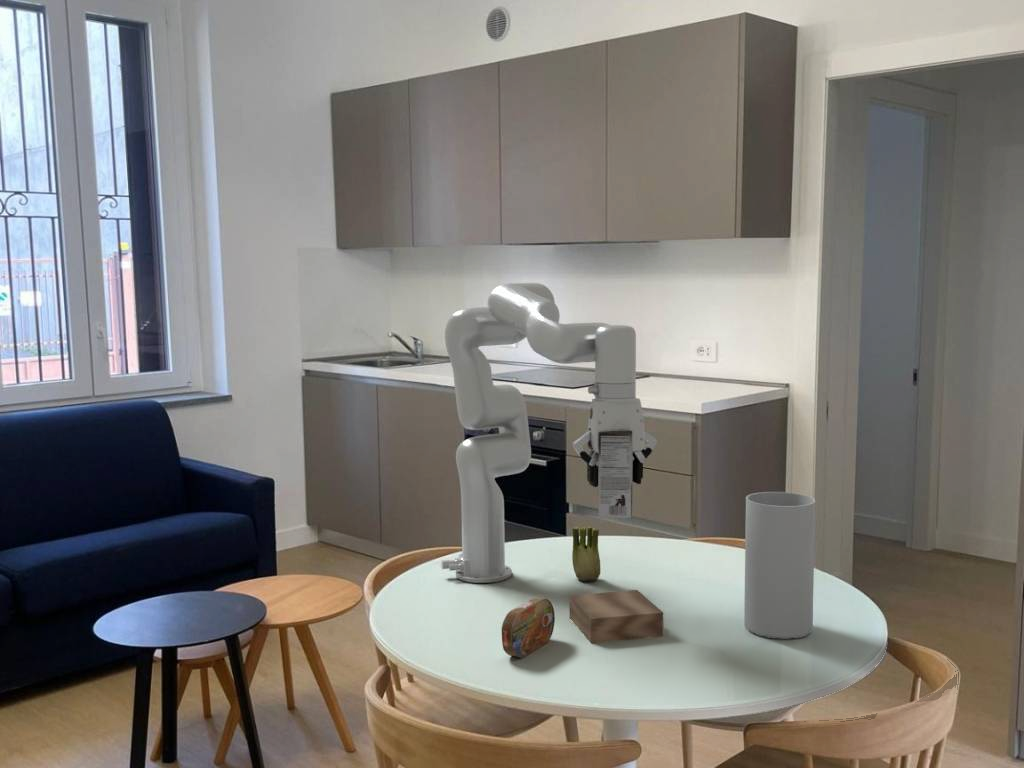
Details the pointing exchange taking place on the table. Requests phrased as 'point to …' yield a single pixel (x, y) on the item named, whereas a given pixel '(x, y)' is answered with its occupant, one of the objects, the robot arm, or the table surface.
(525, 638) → the tin
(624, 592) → the walnut block
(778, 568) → the cylinder vase
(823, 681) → the table surface
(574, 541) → the fennel bulb
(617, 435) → the coffee box
